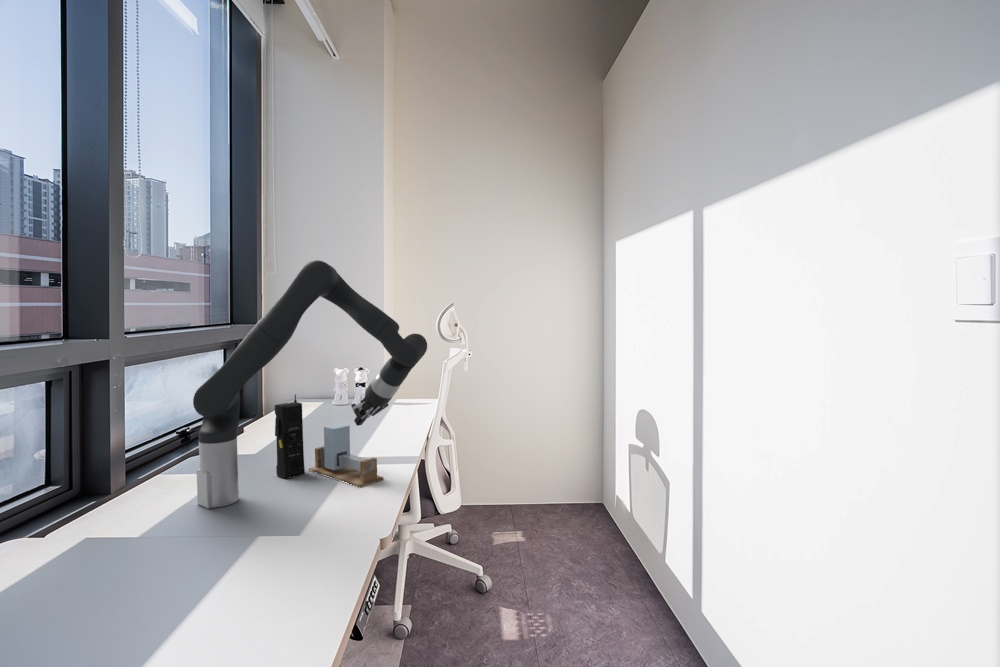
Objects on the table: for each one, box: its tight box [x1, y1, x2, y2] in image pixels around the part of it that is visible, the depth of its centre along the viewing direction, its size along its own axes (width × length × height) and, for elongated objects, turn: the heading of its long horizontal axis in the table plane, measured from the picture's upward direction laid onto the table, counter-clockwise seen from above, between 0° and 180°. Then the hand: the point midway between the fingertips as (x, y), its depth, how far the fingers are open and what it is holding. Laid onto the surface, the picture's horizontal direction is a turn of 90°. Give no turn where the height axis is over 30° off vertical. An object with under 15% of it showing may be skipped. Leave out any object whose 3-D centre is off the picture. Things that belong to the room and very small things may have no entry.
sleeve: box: [323, 423, 351, 470], centre depth 172 cm, size 5×6×13 cm
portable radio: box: [274, 394, 306, 480], centre depth 169 cm, size 8×6×25 cm
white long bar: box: [320, 450, 374, 473], centre depth 170 cm, size 25×3×3 cm, turn 52°
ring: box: [320, 446, 325, 467], centre depth 175 cm, size 2×6×6 cm, turn 142°
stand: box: [308, 445, 384, 488], centre depth 170 cm, size 26×9×7 cm, turn 52°
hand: (357, 423), depth 165 cm, fingers closed
